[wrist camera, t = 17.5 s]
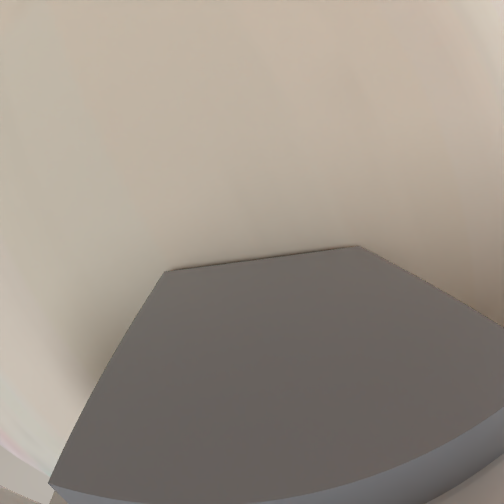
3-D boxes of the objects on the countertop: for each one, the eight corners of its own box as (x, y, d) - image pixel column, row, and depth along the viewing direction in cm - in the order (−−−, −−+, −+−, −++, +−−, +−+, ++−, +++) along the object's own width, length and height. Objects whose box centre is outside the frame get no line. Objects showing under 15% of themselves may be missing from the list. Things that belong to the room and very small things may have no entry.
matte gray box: (359, 245, 11) (555, 362, 2) (352, 392, 13) (432, 533, 4) (164, 271, 10) (48, 483, 2) (202, 417, 12) (197, 587, 4)
